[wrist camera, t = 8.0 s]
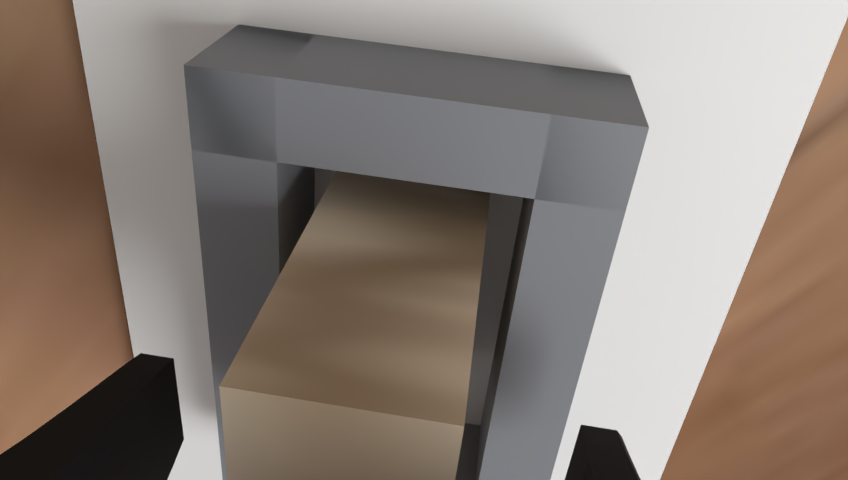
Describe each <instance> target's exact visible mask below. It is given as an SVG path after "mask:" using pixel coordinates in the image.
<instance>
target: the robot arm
mask: <svg viewBox="0 0 848 480" xmlns="http://www.w3.org/2000/svg"><path fill="white" fill-rule="evenodd" d="M183 441H184V435H183V427H182V420H181V412H180V404H179V396H178V388H177V381H176V373H175V365H174V358H168V357H162V356H156V355H150V354H143V353H140V354H139V355H137V356H136V357H135V358H133V359H132V360H131V361H129V362H128V363H126V364H125V365H124V366H122V367H121V368H120V369H118V370H117V371H116V372H114V373H113V374H112V375H110V376H109V377H108V378H106V379H105V380H104V381H102V382H101V383H100V384H98V385H97V386H96V387H94V388H93V389H92V390H90V391H89V392H88V393H86V394H85V395H84V396H82V397H81V398H80V399H78V400H77V401H76V402H74V403H73V404H72V405H70V406H69V407H68V408H66V409H65V410H63V411H62V412H61V413H59V414H58V415H56V416H55V417H54V418H52V419H51V420H50V421H48V422H47V423H45V424H44V425H43V426H41V427H40V428H38V429H37V430H36V431H34V432H33V433H32V434H30V435H29V436H27V437H26V438H24V439H23V440H22V441H20V442H19V443H17V444H16V445H14V446H13V447H11V448H10V449H8V450H7V451H5V452H4V453H2V454H1V455H0V480H167V479H168V477H169V475H170V472H171V470H172V468H173V465H174V463H175V460H176V458H177V455H178V453H179V450H180V448H181V445H182V443H183ZM565 480H641V479H640V477H639V475H638V473H637V471H636V468H635V466H634V464H633V462H632V459H631V457H630V455H629V452H628V450H627V448H626V446H625V443H624V441H623V438H622V436H621V435H620V434H619V432H618V431H617V430H612V429H606V428H599V427H593V426H587V425H581V426H580V430H579V433H578V436H577V440H576V443H575V446H574V450H573V453H572V457H571V460H570V463H569V467H568V470H567V474H566V477H565Z"/></svg>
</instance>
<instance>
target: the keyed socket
mask: <svg viewBox="0 0 848 480" xmlns="http://www.w3.org/2000/svg"><path fill="white" fill-rule="evenodd" d="M73 6H74V12H75V18H76V23H77V29H78V35H79V41H80V47H81V52H82V58H83V64H84V70H85V76H86V82H87V87H88V93H89V99H90V105H91V111H92V116H93V122H94V128H95V134H96V140H97V146H98V151H99V157H100V163H101V169H102V175H103V180H104V186H105V192H106V198H107V204H108V210H109V215H110V221H111V227H112V233H113V239H114V245H115V250H116V256H117V262H118V268H119V274H120V279H121V285H122V291H123V297H124V303H125V309H126V314H127V320H128V326H129V332H130V338H131V343H132V349H133V355H134V358H135V357H136V356H137V355H139V354H140V353H143V354H150V355H156V356H162V357H168V358H174V365H175V373H176V381H177V388H178V396H179V404H180V412H181V420H182V427H183V435H184V441H183V443H182V445H181V448H180V450H179V453H178V455H177V458H176V460H175V463H174V465H173V468H172V470H171V472H170V475H169V477H168V479H167V480H228V479H227V468H226V457H225V446H224V434H223V423H222V412H221V400H220V389H219V386H220V384H221V382H222V380H223V378H224V377H225V375H226V373H227V371H228V369H229V367H230V365H231V364H232V362H233V360H234V358H235V356H236V354H237V353H238V351H239V349H240V347H241V345H242V343H243V342H244V340H245V338H246V336H247V334H248V332H249V331H250V329H251V327H252V325H253V323H254V321H255V319H256V318H257V316H258V314H259V312H260V310H261V308H262V307H263V305H264V303H265V301H266V299H267V297H268V296H269V294H270V292H271V290H272V288H273V286H274V285H275V283H276V281H277V279H278V277H279V275H280V273H281V272H282V270H283V268H284V266H285V264H286V262H287V261H288V259H289V257H290V255H291V253H292V251H293V250H294V248H295V246H296V244H297V242H298V240H299V239H300V237H301V235H302V233H303V231H304V229H305V227H306V226H307V224H308V222H309V220H310V218H311V216H312V215H313V213H314V211H315V209H316V207H317V205H318V204H319V202H320V200H321V198H322V196H323V194H324V192H325V191H326V189H327V187H328V185H329V183H330V181H331V180H332V178H333V176H334V174H335V172H336V171H341V172H348V173H355V174H362V175H369V176H376V177H383V178H390V179H397V180H404V181H411V182H418V183H425V184H432V185H439V186H447V187H454V188H461V189H468V190H475V191H482V192H489V193H490V201H489V210H488V219H487V228H486V237H485V246H484V255H483V263H482V272H481V281H480V290H479V299H478V308H477V317H476V326H475V335H474V344H473V353H472V362H471V371H470V380H469V389H468V398H467V407H466V416H465V425H464V431H463V437H462V443H461V449H460V455H459V460H458V466H457V472H456V478H455V480H565V477H566V474H567V470H568V467H569V463H570V460H571V457H572V453H573V450H574V446H575V443H576V440H577V436H578V433H579V430H580V426H581V425H587V426H593V427H599V428H606V429H612V430H617V431H618V432H619V434H620V435H621V436H622V438H623V441H624V443H625V446H626V448H627V450H628V452H629V455H630V457H631V459H632V462H633V464H634V466H635V468H636V471H637V473H638V475H639V477H640V479H641V480H660V478H661V475H662V473H663V470H664V468H665V466H666V463H667V461H668V458H669V456H670V453H671V451H672V448H673V446H674V443H675V441H676V438H677V436H678V434H679V431H680V429H681V426H682V424H683V421H684V419H685V416H686V414H687V411H688V409H689V406H690V404H691V401H692V399H693V397H694V394H695V392H696V389H697V387H698V384H699V382H700V379H701V377H702V374H703V372H704V369H705V367H706V365H707V362H708V360H709V357H710V355H711V352H712V350H713V347H714V345H715V342H716V340H717V337H718V335H719V332H720V330H721V328H722V325H723V323H724V320H725V318H726V315H727V313H728V310H729V308H730V305H731V303H732V300H733V298H734V296H735V293H736V291H737V288H738V286H739V283H740V281H741V278H742V276H743V273H744V271H745V268H746V266H747V264H748V261H749V259H750V256H751V254H752V251H753V249H754V246H755V244H756V241H757V239H758V236H759V234H760V231H761V229H762V227H763V224H764V222H765V219H766V217H767V214H768V212H769V209H770V207H771V204H772V202H773V199H774V197H775V195H776V192H777V190H778V187H779V185H780V182H781V180H782V177H783V175H784V172H785V170H786V167H787V165H788V162H789V160H790V158H791V155H792V153H793V150H794V148H795V145H796V143H797V140H798V138H799V135H800V133H801V130H802V128H803V126H804V123H805V121H806V118H807V116H808V113H809V111H810V108H811V106H812V103H813V101H814V98H815V96H816V93H817V91H818V89H819V86H820V84H821V81H822V79H823V76H824V74H825V71H826V69H827V66H828V64H829V61H830V59H831V57H832V54H833V52H834V49H835V47H836V44H837V42H838V39H839V37H840V34H841V32H842V29H843V27H844V25H845V22H846V20H847V17H848V0H73Z"/></svg>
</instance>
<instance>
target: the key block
mask: <svg viewBox="0 0 848 480" xmlns="http://www.w3.org/2000/svg"><path fill="white" fill-rule="evenodd" d="M489 201H490V193H489V192H482V191H475V190H468V189H461V188H454V187H447V186H439V185H432V184H425V183H418V182H411V181H404V180H397V179H390V178H383V177H376V176H369V175H362V174H355V173H348V172H341V171H336V172H335V174H334V176H333V178H332V180H331V181H330V183H329V185H328V187H327V189H326V191H325V192H324V194H323V196H322V198H321V200H320V202H319V204H318V205H317V207H316V209H315V211H314V213H313V215H312V216H311V218H310V220H309V222H308V224H307V226H306V227H305V229H304V231H303V233H302V235H301V237H300V239H299V240H298V242H297V244H296V246H295V248H294V250H293V251H292V253H291V255H290V257H289V259H288V261H287V262H286V264H285V266H284V268H283V270H282V272H281V273H280V275H279V277H278V279H277V281H276V283H275V285H274V286H273V288H272V290H271V292H270V294H269V296H268V297H267V299H266V301H265V303H264V305H263V307H262V308H261V310H260V312H259V314H258V316H257V318H256V319H255V321H254V323H253V325H252V327H251V329H250V331H249V332H248V334H247V336H246V338H245V340H244V342H243V343H242V345H241V347H240V349H239V351H238V353H237V354H236V356H235V358H234V360H233V362H232V364H231V365H230V367H229V369H228V371H227V373H226V375H225V377H224V378H223V380H222V382H221V384H220V386H219V389H220V400H221V412H222V423H223V434H224V446H225V457H226V468H227V479H228V480H455V478H456V472H457V466H458V460H459V455H460V449H461V443H462V437H463V431H464V425H465V416H466V407H467V398H468V389H469V380H470V371H471V362H472V353H473V344H474V335H475V326H476V317H477V308H478V299H479V290H480V281H481V272H482V263H483V255H484V246H485V237H486V228H487V219H488V210H489Z"/></svg>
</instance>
